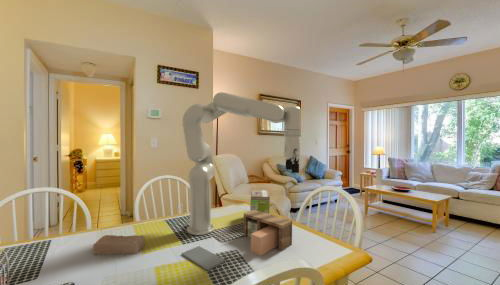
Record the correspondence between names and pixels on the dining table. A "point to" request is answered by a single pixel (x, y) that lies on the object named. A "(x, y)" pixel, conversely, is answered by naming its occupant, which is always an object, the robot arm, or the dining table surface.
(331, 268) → the dining table surface
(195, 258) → the mat
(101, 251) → the brick
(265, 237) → the block
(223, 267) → the dining table surface
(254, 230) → the cubby
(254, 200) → the tea box
